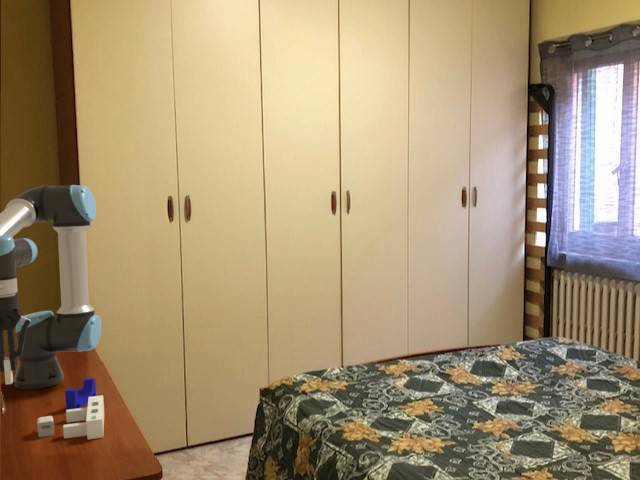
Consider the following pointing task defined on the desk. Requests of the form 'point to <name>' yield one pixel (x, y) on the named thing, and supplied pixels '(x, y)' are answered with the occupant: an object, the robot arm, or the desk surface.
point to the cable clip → (80, 394)
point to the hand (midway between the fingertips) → (9, 382)
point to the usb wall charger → (45, 426)
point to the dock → (93, 420)
